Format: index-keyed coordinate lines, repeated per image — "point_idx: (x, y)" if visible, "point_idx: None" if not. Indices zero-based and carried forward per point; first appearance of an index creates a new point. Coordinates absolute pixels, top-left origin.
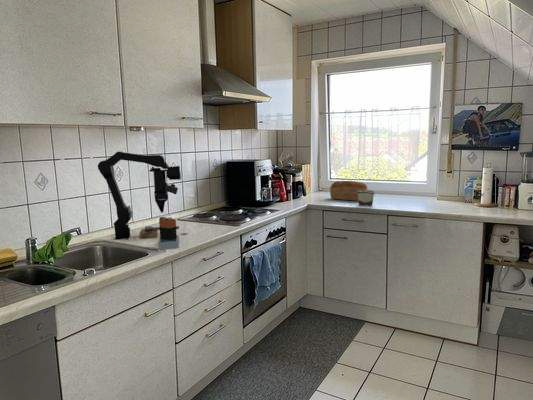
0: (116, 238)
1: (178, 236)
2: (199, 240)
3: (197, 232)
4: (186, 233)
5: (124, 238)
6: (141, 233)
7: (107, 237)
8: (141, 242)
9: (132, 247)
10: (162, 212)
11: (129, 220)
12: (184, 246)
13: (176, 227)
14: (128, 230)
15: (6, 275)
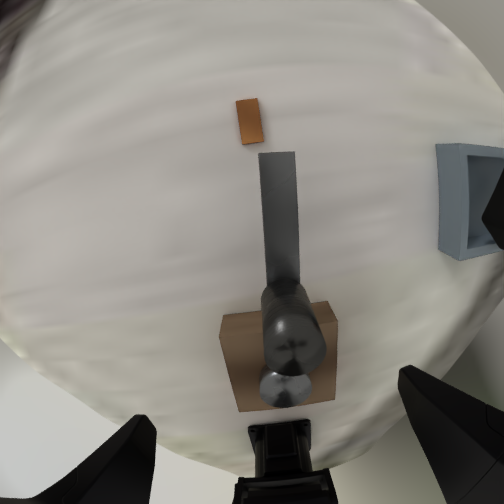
0: (310, 446)
1: (479, 145)
2: (416, 36)
3: (204, 43)
4: (245, 106)
5: (310, 428)
6: (334, 389)
7: None
8: (401, 346)
9: (458, 347)
10: (411, 371)
11: (305, 486)
12: (499, 122)
13: (294, 172)
14: (295, 447)
15: None
